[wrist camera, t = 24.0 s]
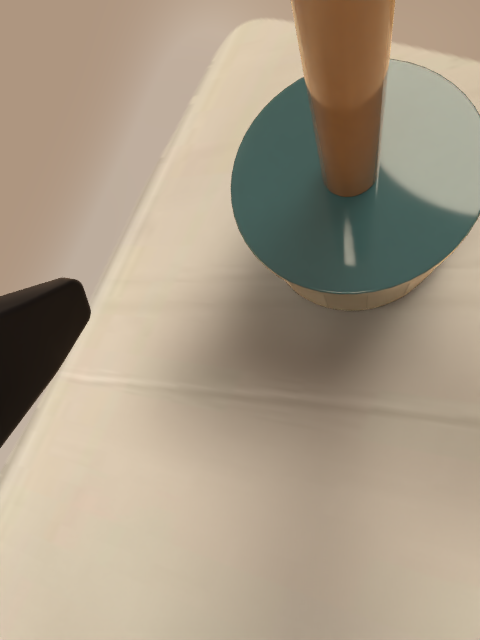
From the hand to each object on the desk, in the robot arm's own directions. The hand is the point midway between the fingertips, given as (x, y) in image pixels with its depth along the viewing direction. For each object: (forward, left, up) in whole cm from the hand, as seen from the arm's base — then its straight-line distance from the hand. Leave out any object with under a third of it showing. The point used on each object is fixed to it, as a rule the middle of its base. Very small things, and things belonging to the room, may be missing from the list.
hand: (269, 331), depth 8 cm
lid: (+4, +7, -8) cm, 11 cm away
